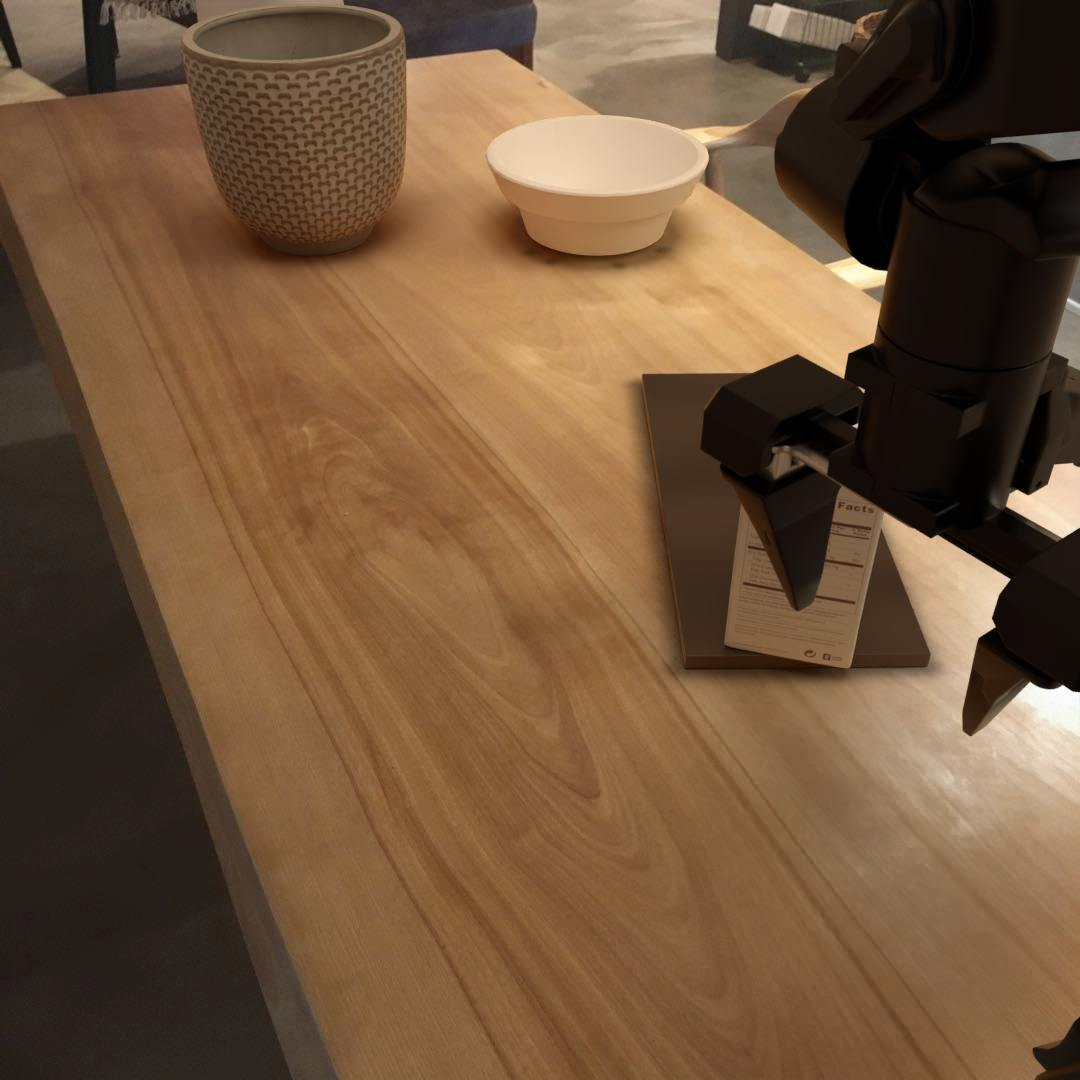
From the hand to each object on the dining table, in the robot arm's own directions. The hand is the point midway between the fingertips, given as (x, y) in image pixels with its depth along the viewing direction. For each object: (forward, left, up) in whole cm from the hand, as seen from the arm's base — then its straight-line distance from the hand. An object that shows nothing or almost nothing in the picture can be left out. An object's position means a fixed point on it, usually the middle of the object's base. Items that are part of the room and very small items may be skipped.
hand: (883, 664), depth 49 cm
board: (+23, -18, -13) cm, 32 cm away
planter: (+81, -15, -13) cm, 83 cm away
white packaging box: (+13, -10, -12) cm, 20 cm away
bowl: (+65, -37, -13) cm, 76 cm away
